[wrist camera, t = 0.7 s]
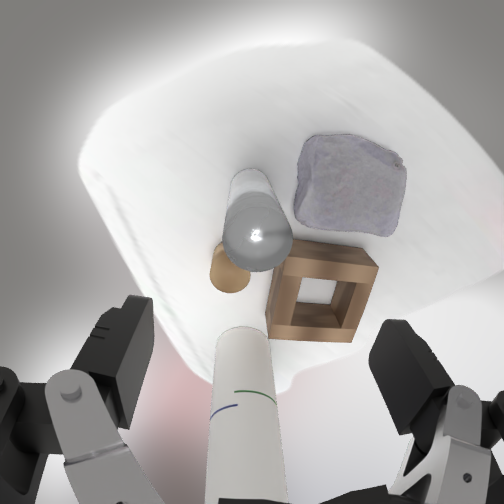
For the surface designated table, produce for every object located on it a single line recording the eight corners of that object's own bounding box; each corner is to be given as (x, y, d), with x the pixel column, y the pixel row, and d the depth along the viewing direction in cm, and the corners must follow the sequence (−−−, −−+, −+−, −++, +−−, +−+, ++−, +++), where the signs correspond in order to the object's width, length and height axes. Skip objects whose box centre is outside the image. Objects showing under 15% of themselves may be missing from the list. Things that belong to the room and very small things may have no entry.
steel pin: (272, 171, 31) (298, 211, 17) (266, 208, 32) (285, 275, 18) (233, 166, 30) (226, 201, 16) (228, 203, 32) (218, 267, 18)
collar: (362, 248, 34) (378, 267, 30) (340, 318, 38) (351, 342, 34) (279, 237, 33) (286, 256, 29) (265, 313, 37) (268, 338, 33)
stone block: (296, 132, 31) (288, 224, 33) (308, 124, 26) (299, 230, 28) (391, 150, 32) (384, 233, 34) (413, 147, 27) (405, 240, 29)
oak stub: (251, 242, 34) (253, 259, 29) (246, 274, 35) (247, 295, 31) (214, 238, 33) (211, 254, 29) (211, 270, 35) (208, 290, 31)
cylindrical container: (206, 337, 39) (186, 524, 16) (256, 319, 38) (273, 517, 15) (230, 371, 41) (228, 539, 18) (277, 356, 40) (301, 530, 17)
